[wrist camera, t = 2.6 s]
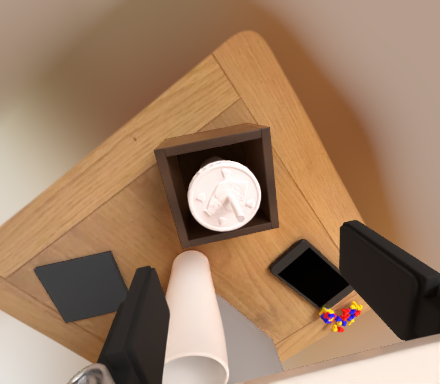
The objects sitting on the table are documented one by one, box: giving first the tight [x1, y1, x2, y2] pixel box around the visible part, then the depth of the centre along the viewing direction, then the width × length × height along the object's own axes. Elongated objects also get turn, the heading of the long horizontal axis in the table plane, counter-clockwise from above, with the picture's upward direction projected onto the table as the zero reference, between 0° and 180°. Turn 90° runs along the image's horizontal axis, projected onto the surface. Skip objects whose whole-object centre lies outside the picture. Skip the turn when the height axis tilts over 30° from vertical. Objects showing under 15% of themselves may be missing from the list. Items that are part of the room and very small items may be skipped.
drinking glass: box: [162, 250, 229, 384], centre depth 25 cm, size 7×7×15 cm
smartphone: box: [270, 239, 354, 310], centre depth 35 cm, size 7×15×1 cm, turn 47°
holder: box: [154, 123, 279, 249], centre depth 24 cm, size 10×10×8 cm
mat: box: [34, 251, 128, 323], centre depth 31 cm, size 10×10×1 cm
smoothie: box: [188, 157, 261, 231], centre depth 21 cm, size 6×6×14 cm
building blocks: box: [319, 301, 363, 332], centre depth 38 cm, size 6×8×2 cm
